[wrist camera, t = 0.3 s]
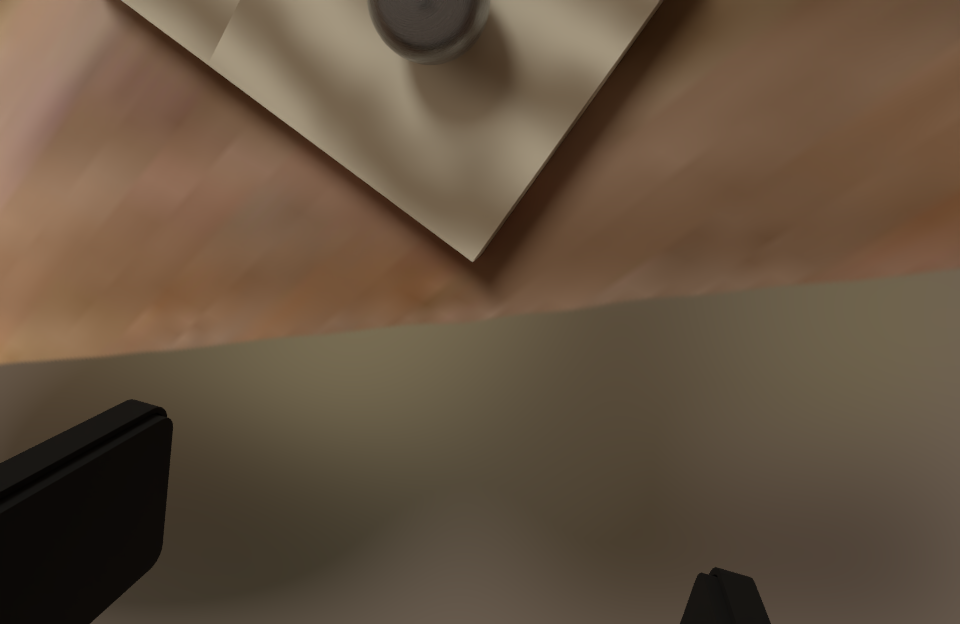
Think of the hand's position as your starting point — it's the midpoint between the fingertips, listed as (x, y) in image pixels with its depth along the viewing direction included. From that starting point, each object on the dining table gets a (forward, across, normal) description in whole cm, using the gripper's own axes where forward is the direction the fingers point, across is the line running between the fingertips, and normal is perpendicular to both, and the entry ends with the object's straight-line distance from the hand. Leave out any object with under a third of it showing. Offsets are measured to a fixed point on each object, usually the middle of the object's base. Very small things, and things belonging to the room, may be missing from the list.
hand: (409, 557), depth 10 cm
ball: (+23, +8, -13) cm, 28 cm away
